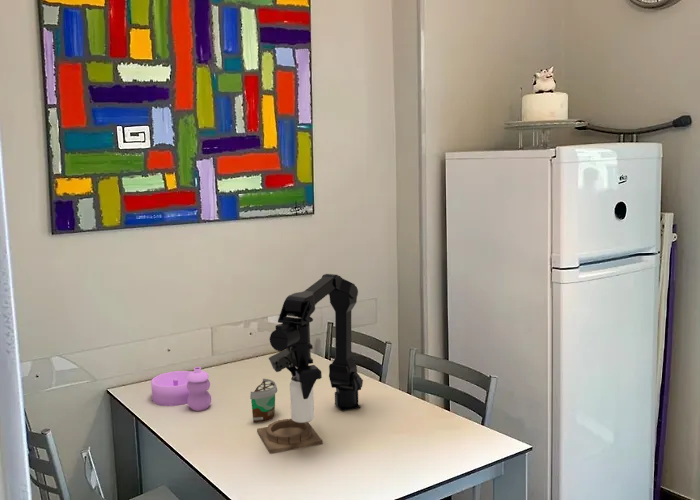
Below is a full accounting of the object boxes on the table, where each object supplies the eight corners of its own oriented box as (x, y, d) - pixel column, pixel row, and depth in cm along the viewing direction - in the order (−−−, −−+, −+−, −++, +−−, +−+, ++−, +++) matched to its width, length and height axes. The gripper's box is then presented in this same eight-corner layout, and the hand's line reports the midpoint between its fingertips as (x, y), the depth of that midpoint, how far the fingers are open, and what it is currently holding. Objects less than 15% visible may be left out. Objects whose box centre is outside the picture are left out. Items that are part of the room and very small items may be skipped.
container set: (143, 398, 233) (140, 359, 230) (183, 385, 243) (181, 348, 241) (185, 418, 215) (182, 377, 213) (226, 403, 226) (224, 364, 224)
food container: (271, 425, 208) (269, 393, 206) (251, 424, 209) (249, 392, 208) (283, 409, 220) (282, 378, 218) (264, 408, 221) (263, 377, 219)
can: (317, 415, 200) (316, 375, 198) (309, 424, 194) (307, 383, 192) (296, 413, 202) (294, 373, 200) (287, 422, 196) (285, 381, 194)
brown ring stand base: (306, 423, 209) (306, 413, 208) (322, 443, 195) (322, 433, 195) (257, 431, 204) (256, 422, 203) (269, 453, 190) (269, 443, 190)
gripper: (262, 335, 200) (265, 388, 202) (280, 354, 182) (282, 411, 185) (300, 330, 204) (302, 382, 206) (321, 348, 186) (323, 404, 189)
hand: (301, 394), depth 197 cm, fingers closed on can, 6 cm apart
